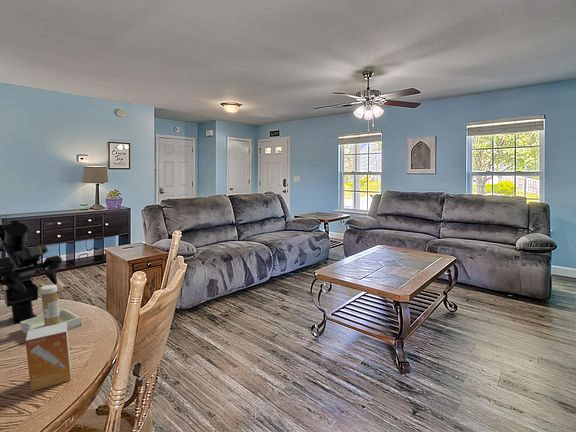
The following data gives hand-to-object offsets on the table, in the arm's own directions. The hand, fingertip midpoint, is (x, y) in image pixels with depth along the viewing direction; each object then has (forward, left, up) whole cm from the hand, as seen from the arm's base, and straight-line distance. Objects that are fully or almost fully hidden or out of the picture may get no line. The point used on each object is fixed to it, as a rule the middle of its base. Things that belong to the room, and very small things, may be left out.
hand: (41, 288), depth 110 cm
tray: (+3, +1, -13) cm, 14 cm away
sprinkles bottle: (+3, +1, -13) cm, 13 cm away
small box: (+36, -10, -14) cm, 40 cm away
